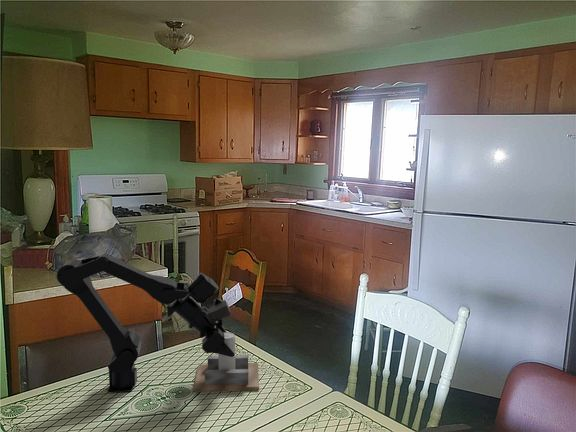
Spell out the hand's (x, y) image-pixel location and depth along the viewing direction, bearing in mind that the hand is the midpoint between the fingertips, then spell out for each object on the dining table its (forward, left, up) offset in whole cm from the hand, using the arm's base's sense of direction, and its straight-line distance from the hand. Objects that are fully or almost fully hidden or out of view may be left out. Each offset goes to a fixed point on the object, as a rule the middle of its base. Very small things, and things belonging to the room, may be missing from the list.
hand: (232, 348), depth 134 cm
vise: (-1, 0, -9) cm, 9 cm away
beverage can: (-2, 0, -8) cm, 8 cm away
